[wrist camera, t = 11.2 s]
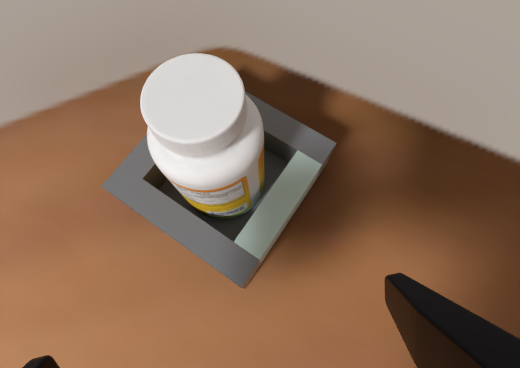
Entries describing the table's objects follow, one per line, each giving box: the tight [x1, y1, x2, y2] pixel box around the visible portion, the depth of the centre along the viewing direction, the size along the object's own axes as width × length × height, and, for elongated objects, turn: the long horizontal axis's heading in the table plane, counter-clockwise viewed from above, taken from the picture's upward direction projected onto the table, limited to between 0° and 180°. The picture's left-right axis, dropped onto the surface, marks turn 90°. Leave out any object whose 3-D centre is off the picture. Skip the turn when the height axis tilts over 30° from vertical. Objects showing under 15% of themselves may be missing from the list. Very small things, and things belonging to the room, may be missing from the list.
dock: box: [101, 91, 336, 288], centre depth 20 cm, size 10×10×4 cm
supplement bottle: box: [140, 53, 265, 219], centre depth 16 cm, size 5×5×10 cm
